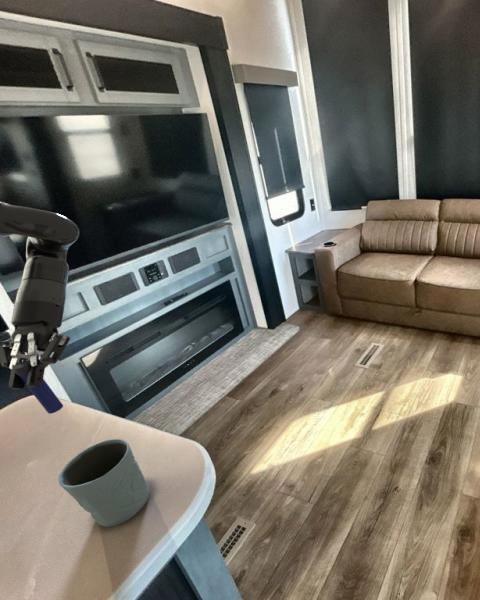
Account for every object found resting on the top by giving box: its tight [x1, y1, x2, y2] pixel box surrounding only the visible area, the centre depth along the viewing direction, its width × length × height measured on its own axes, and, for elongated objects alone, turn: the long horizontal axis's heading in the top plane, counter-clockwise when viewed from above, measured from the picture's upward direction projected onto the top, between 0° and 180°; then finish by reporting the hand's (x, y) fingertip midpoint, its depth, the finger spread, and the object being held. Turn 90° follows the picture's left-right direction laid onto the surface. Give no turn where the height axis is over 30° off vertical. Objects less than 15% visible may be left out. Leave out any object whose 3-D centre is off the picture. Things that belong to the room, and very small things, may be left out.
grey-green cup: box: [57, 438, 151, 528], centre depth 66 cm, size 10×10×12 cm
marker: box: [12, 360, 64, 414], centre depth 74 cm, size 3×3×12 cm
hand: (25, 387), depth 72 cm, fingers closed on marker, 3 cm apart
